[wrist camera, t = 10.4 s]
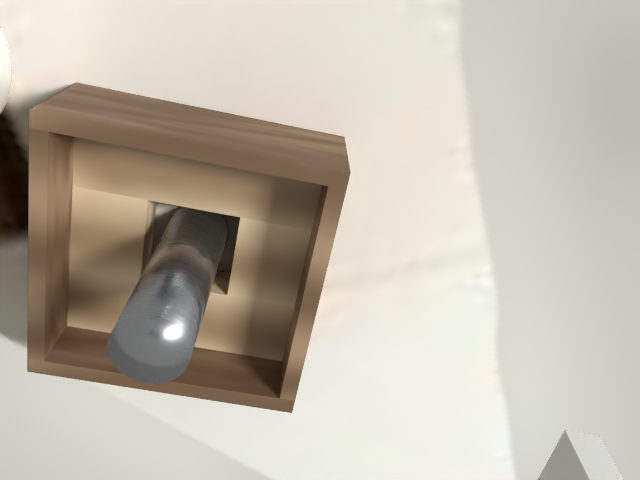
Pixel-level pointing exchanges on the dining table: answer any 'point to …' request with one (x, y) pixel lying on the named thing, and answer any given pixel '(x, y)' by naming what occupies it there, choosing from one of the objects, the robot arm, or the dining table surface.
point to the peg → (169, 299)
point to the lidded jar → (5, 71)
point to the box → (138, 229)
